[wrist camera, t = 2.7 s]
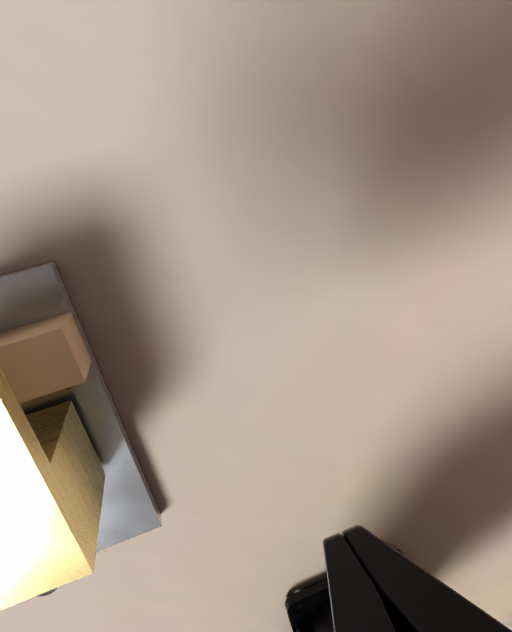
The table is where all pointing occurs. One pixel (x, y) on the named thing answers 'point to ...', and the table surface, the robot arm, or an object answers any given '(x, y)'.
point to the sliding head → (45, 499)
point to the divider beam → (43, 357)
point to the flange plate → (85, 407)
